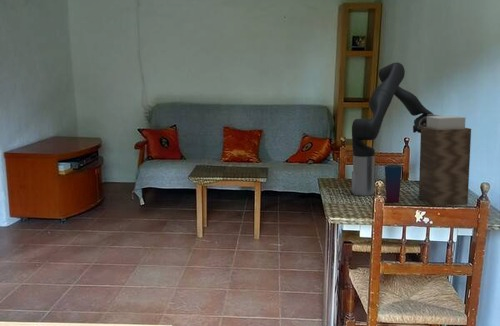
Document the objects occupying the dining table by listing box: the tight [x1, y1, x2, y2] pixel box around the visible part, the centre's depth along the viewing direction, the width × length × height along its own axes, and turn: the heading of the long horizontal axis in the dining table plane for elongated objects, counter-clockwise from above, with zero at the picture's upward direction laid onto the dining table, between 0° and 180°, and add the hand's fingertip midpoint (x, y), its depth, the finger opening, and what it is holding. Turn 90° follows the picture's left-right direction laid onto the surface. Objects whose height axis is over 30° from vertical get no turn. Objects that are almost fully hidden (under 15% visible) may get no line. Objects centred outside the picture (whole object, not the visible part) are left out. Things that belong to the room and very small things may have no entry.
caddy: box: [427, 113, 466, 130], centre depth 190 cm, size 11×21×6 cm, turn 2°
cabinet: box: [418, 127, 472, 206], centre depth 188 cm, size 14×14×30 cm
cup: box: [384, 163, 403, 204], centre depth 191 cm, size 7×7×15 cm
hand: (430, 130), depth 205 cm, fingers open, 8 cm apart
